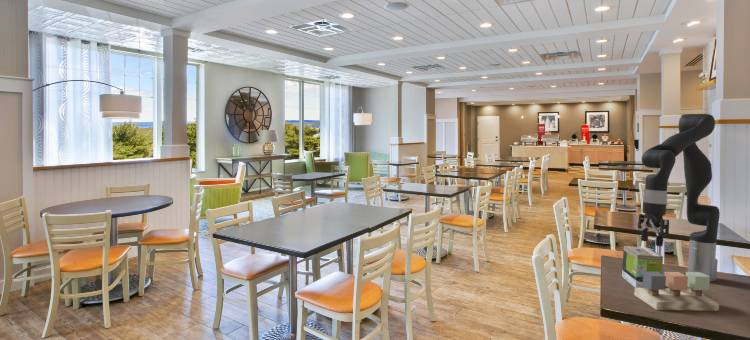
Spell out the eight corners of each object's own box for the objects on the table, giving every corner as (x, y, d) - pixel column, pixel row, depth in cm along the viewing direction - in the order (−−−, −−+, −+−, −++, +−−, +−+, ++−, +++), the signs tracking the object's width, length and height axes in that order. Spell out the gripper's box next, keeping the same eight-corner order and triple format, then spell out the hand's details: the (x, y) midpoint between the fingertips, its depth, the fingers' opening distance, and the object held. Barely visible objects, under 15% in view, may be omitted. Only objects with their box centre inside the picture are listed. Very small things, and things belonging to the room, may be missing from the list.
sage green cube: (698, 285, 159) (699, 272, 158) (709, 290, 153) (710, 276, 153) (685, 284, 159) (685, 271, 158) (694, 290, 154) (695, 276, 153)
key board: (690, 295, 163) (692, 278, 163) (718, 310, 150) (719, 292, 149) (634, 294, 165) (635, 278, 164) (656, 309, 151) (657, 291, 150)
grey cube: (656, 284, 159) (657, 271, 159) (665, 289, 154) (665, 276, 154) (642, 284, 160) (643, 271, 159) (651, 289, 154) (651, 276, 154)
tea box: (662, 290, 169) (664, 256, 167) (635, 289, 171) (636, 254, 169) (645, 278, 183) (647, 246, 182) (621, 276, 185) (622, 245, 184)
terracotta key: (677, 284, 159) (678, 271, 158) (687, 289, 154) (687, 276, 153) (663, 284, 159) (664, 271, 159) (672, 289, 154) (673, 276, 154)
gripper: (678, 204, 150) (674, 248, 150) (652, 200, 164) (648, 239, 165) (657, 203, 150) (653, 247, 150) (633, 199, 164) (630, 238, 165)
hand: (651, 243), depth 158 cm, fingers open, 8 cm apart
